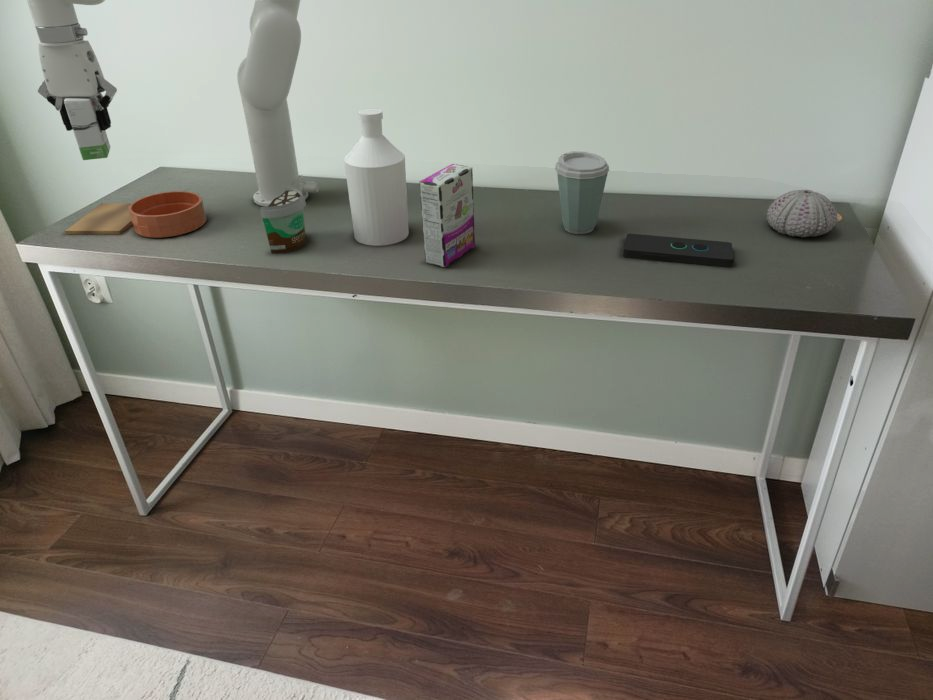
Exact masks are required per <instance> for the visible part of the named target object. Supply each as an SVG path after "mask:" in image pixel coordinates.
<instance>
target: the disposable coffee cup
mask: <svg viewBox="0 0 933 700" xmlns="http://www.w3.org/2000/svg"><path fill="white" fill-rule="evenodd" d="M557 158H558V159H557V162H556V163H555V167H554V170H555V172H556V175H557V185H558V192H559V204H560V211H561V218H562V219H561V221H562V225H563V228H564V231H565V232H568V233H570V234H574V235H587V234H589V233H592V232H593V231H594V230H595V227H596V225H597V222H598V217H599V213H600V209H601V204H602V200H603V195H604V192H605V187H606V182H607V178H608V173H609V172H610V166H609V164H608V162H607V160H606V159H605V158H604V157H602V156H601V155H598V154H596V153H592V152H588V151H569V152H565V153H563V154H561V155H560V156H559V157H557Z"/></svg>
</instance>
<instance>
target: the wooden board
mask: <svg viewBox="0 0 933 700" xmlns="http://www.w3.org/2000/svg"><path fill="white" fill-rule="evenodd" d="M132 203H133V202H127V203H126V202H124V203H123V202H120V203H119V202H118V203H117V202H109V203H108V202H105V203H103V202H101V203H100V204H99V205H97V206H96V207H94V208H93V209H92V210H91V211H89V212H88V213H86V214H85V215H84V216H82V217H81V218H79V219H78V220H77V221H76V222H75V223H73V224H72V225H70V226H69V227H68V228H66V229H65V230H64V232H65V234H66V235H122V234H123V233H124V232H125V231H127V229H128V228H130V227H131V226H133V224H132V221H131V217H130V214H129V211H128V208H129V206H130V205H131V204H132Z"/></svg>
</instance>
